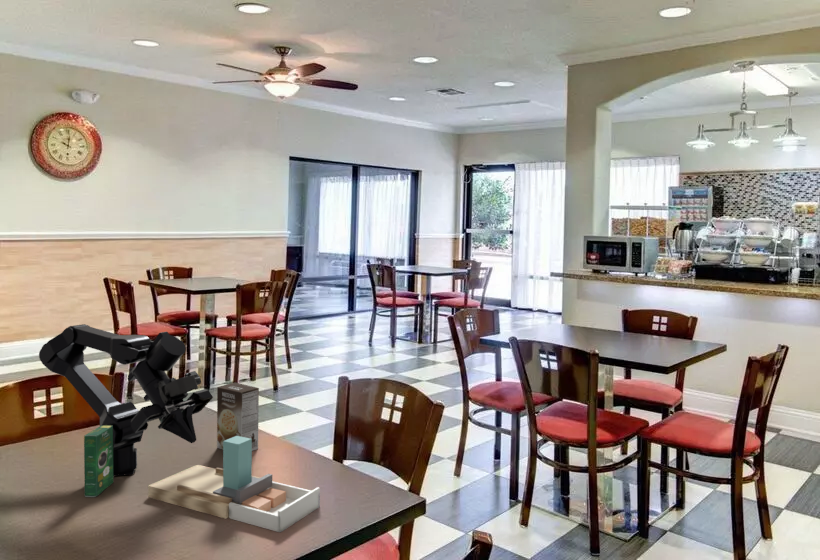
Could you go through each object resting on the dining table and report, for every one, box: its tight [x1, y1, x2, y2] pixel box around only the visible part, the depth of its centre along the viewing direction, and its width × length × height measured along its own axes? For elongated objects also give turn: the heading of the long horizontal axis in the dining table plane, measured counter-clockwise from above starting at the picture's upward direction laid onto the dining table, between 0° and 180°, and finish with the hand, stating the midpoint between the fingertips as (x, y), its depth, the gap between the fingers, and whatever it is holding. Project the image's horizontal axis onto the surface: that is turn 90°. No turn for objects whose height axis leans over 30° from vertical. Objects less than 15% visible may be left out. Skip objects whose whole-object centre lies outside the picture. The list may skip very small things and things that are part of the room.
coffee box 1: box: [83, 425, 114, 498], centre depth 141 cm, size 8×3×13 cm, turn 0°
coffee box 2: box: [216, 381, 260, 452], centre depth 168 cm, size 9×6×16 cm
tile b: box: [242, 495, 271, 512], centre depth 131 cm, size 4×4×2 cm
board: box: [147, 464, 261, 520], centre depth 140 cm, size 21×14×4 cm, turn 64°
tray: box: [228, 480, 321, 533], centre depth 132 cm, size 12×13×4 cm
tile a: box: [258, 488, 286, 508], centre depth 136 cm, size 4×4×2 cm
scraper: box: [213, 436, 273, 503], centre depth 135 cm, size 7×10×10 cm
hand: (194, 441), depth 141 cm, fingers closed
